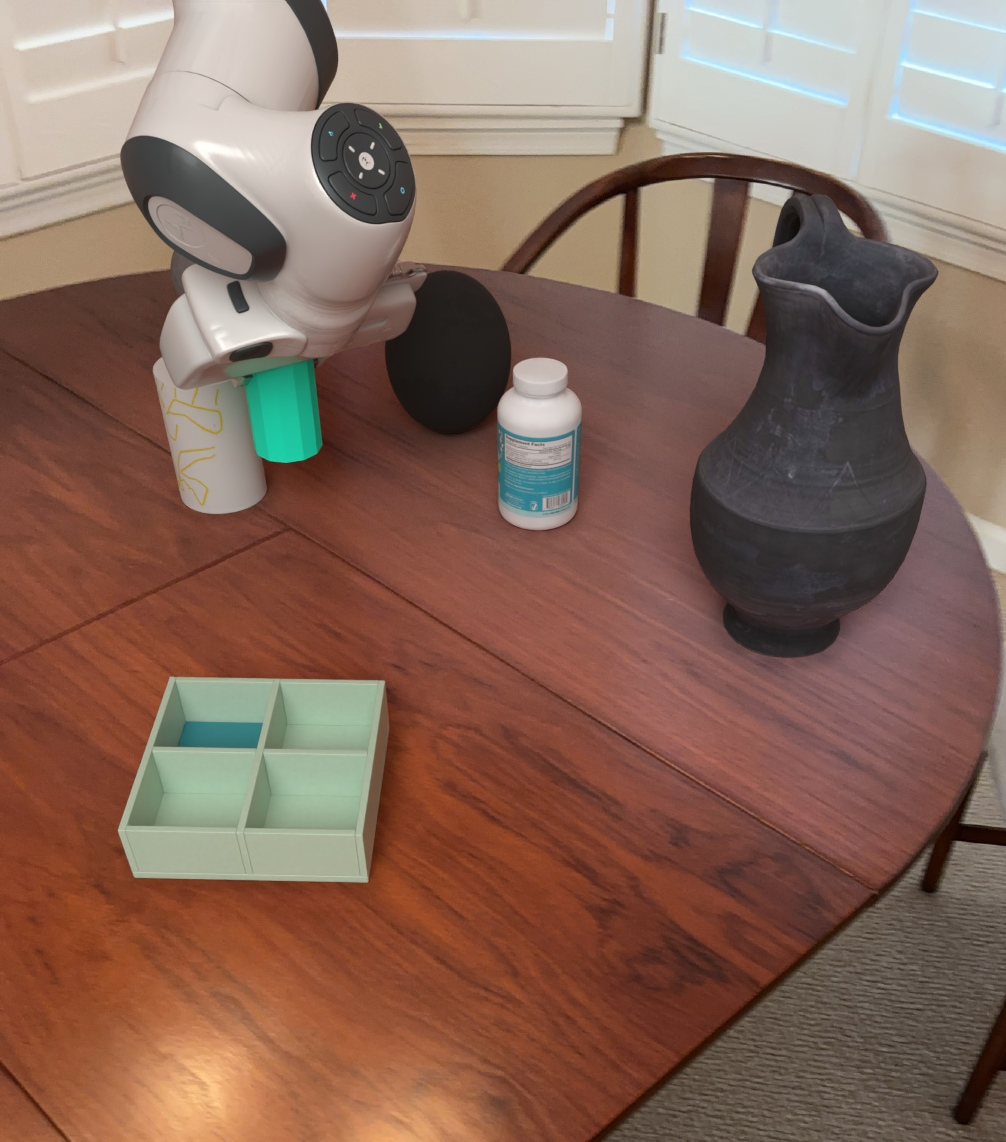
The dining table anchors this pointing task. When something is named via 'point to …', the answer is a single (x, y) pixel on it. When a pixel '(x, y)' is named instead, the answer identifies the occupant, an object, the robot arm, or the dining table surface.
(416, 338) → the decorative egg
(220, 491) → the cup
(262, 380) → the candle
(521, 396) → the pill bottle
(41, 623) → the dining table surface
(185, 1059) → the dining table surface
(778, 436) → the pitcher
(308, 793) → the compartment tray
